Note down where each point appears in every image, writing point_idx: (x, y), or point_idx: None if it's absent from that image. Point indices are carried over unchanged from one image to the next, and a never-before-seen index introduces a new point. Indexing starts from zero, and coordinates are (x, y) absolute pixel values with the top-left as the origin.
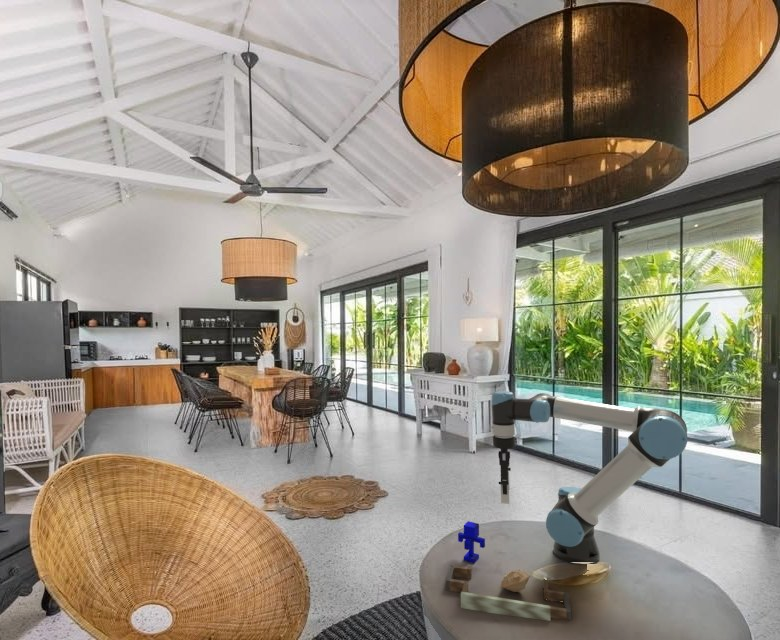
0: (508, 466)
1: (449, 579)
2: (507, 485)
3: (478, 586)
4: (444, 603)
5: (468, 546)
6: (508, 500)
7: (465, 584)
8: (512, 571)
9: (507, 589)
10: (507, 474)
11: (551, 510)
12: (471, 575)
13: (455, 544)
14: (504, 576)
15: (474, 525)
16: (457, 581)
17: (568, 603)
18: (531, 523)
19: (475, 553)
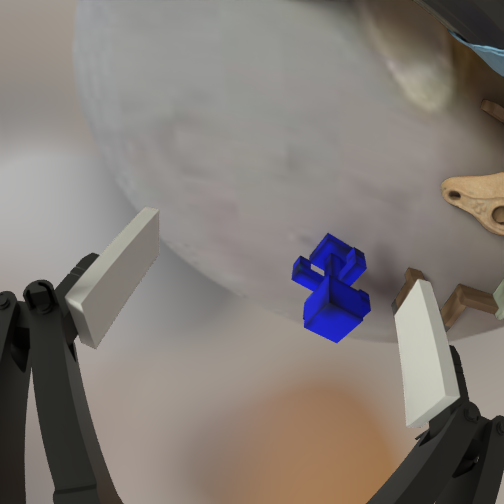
0: (9, 303)
1: (446, 327)
2: (452, 394)
3: (449, 261)
4: (472, 322)
5: (366, 298)
6: (432, 300)
7: (471, 304)
8: (475, 198)
9: (502, 219)
10: (495, 489)
11: (492, 11)
12: (411, 269)
13: (249, 274)
14: (489, 227)
15: (341, 317)
16: (457, 315)
17: None
18: (86, 41)
19: (321, 246)
